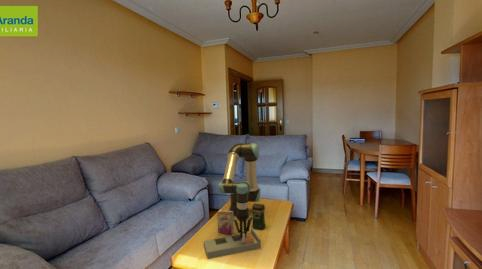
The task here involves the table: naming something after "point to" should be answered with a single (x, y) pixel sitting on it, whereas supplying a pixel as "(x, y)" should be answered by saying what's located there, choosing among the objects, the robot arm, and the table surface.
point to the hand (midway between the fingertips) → (243, 241)
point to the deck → (230, 245)
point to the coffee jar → (258, 216)
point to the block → (249, 239)
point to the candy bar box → (225, 221)
